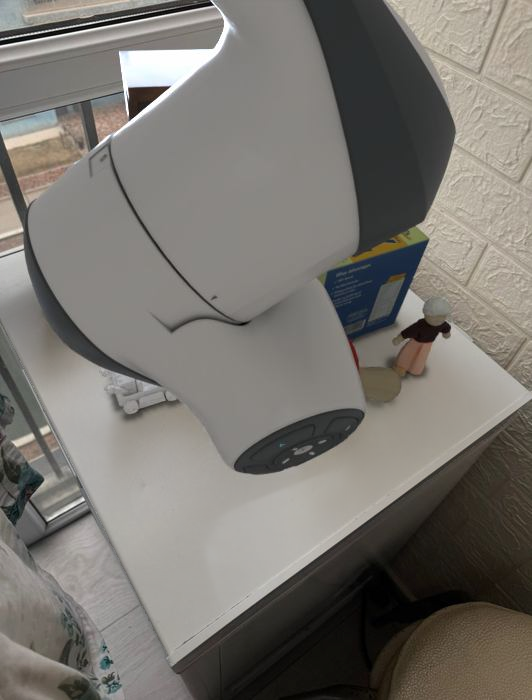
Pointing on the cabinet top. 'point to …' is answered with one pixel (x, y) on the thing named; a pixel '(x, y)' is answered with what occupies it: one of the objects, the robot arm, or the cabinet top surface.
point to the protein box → (375, 283)
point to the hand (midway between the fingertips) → (194, 139)
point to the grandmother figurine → (422, 337)
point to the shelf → (154, 74)
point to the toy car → (134, 392)
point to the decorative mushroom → (377, 380)
